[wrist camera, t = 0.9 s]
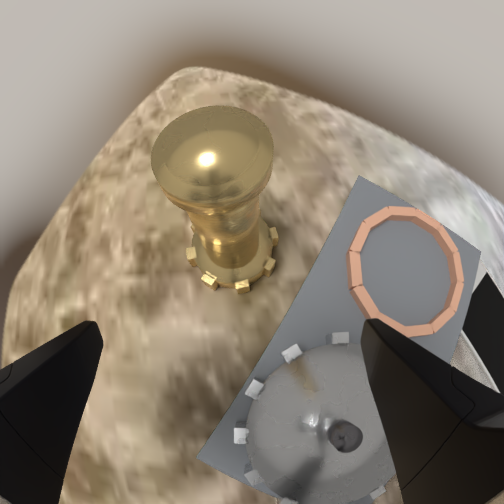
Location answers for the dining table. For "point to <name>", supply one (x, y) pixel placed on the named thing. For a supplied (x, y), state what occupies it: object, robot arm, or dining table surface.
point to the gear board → (365, 298)
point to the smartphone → (486, 328)
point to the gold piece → (220, 191)
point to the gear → (316, 428)
